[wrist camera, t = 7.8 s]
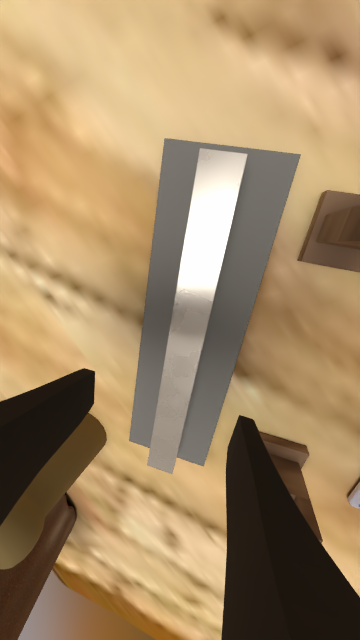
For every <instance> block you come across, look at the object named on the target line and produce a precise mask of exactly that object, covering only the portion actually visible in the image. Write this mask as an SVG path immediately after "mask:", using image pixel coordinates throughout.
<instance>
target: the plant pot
mask: <svg viewBox="0 0 360 640" xmlns="http://www.w3.org/2000/svg"><path fill="white" fill-rule="evenodd" d="M75 519H76V515H75V511H74V508H73V507H72V506H68V504H67V500H66V495H65V494H64V495H63V496H62V498H61V499H60V500H59V501H58V502H57V504H56V505H55V506H54V507H53V508H52V510H51V511H50V512H49V513H48V514H47V516H46V517H45V521H44V527H43V530H42V533H41V535H40V537H39V539H38V541H37V543H36V544H35V546H34V548H33V549H32V551H31V552H30V553H29V554H28V555H27V556H26V557H25V558H24V559H23V560H22V561H21V562H19V563H18V564H16V565H15V566H14V567H12V568H9V569H0V640H18V637H19V635H20V633H21V631H22V629H23V627H24V625H25V623H26V621H27V619H28V617H29V615H30V613H31V610H32V609H33V607H34V605H35V602H36V600H37V598H38V596H39V594H40V592H41V590H42V588H43V586H44V584H45V582H46V580H47V578H48V576H49V574H50V572H51V570H52V568H53V566H54V564H55V562H56V560H57V558H58V556H59V554H60V552H61V550H62V548H63V546H64V544H65V542H66V540H67V538H68V536H69V534H70V532H71V530H72V528H73V526H74V523H75Z"/></svg>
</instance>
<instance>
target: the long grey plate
mask: <svg viewBox="0 0 360 640" xmlns="http://www.w3.org/2000/svg"><path fill="white" fill-rule="evenodd" d="M200 148H202V149H211V150H219V151H227V152H236V153H244V154H247V159H246V165H245V170H244V175H243V179H242V183H241V187H240V192H239V196H238V200H237V204H236V209H235V213H234V217H233V221H232V225H231V230H230V234H229V238H228V242H227V247H226V251H225V255H224V259H223V264H222V268H221V272H220V276H219V281H218V285H217V289H216V293H215V298H214V302H213V306H212V310H211V314H210V319H209V323H208V327H207V331H206V336H205V340H204V344H203V348H202V353H201V357H200V361H199V365H198V370H197V374H196V378H195V382H194V386H193V391H192V395H191V399H190V403H189V408H188V412H187V416H186V420H185V425H184V429H183V433H182V437H181V442H180V446H179V450H178V454H177V457H178V458H181V459H183V460H186V461H189V462H192V463H195V464H198V465H201V466H204V464H205V460H206V457H207V454H208V451H209V448H210V444H211V441H212V438H213V435H214V432H215V428H216V425H217V422H218V419H219V415H220V412H221V409H222V406H223V403H224V399H225V396H226V393H227V390H228V387H229V383H230V380H231V377H232V374H233V370H234V367H235V364H236V361H237V358H238V354H239V351H240V348H241V345H242V342H243V338H244V335H245V332H246V329H247V326H248V322H249V319H250V316H251V313H252V309H253V306H254V303H255V300H256V297H257V293H258V290H259V287H260V284H261V281H262V277H263V274H264V271H265V268H266V264H267V261H268V258H269V255H270V252H271V248H272V245H273V242H274V239H275V236H276V232H277V229H278V226H279V223H280V219H281V216H282V213H283V210H284V207H285V203H286V200H287V197H288V194H289V191H290V187H291V184H292V181H293V178H294V175H295V171H296V168H297V165H298V162H299V158H300V155H301V154H293V153H284V152H276V151H267V150H259V149H251V148H242V147H234V146H225V145H217V144H208V143H200V142H191V141H183V140H175V139H166V138H165V139H164V148H163V156H162V165H161V173H160V182H159V190H158V199H157V207H156V216H155V224H154V233H153V242H152V250H151V259H150V267H149V276H148V284H147V293H146V301H145V310H144V318H143V327H142V336H141V344H140V353H139V361H138V370H137V378H136V387H135V395H134V404H133V412H132V421H131V429H130V438H129V441H131V442H134V443H137V444H140V445H143V446H145V447H148V448H150V445H151V439H152V433H153V427H154V421H155V415H156V409H157V403H158V397H159V391H160V385H161V379H162V373H163V367H164V361H165V355H166V349H167V343H168V337H169V331H170V325H171V319H172V313H173V307H174V301H175V295H176V289H177V283H178V277H179V271H180V265H181V259H182V253H183V247H184V241H185V235H186V229H187V223H188V217H189V211H190V205H191V199H192V193H193V187H194V181H195V175H196V169H197V163H198V157H199V151H200Z"/></svg>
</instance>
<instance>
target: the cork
mask: <svg viewBox="0 0 360 640" xmlns="http://www.w3.org/2000/svg"><path fill="white" fill-rule="evenodd" d="M105 443H106V433H105V430H104V428H103V426H102V425H101V424H100V422H99V421H98V420H97V419H96V418H94V417H93V416H92V415H90V414H88V413H87V415H86V416H85V418H84V419H83V421H82V422H81V423H80V424H79V426H78V427H77V428H76V429H75V430H74V432H73V433H72V434H71V435H70V436H69V437H68V439H67V440H66V441H65V442H64V443H63V444H62V446H61V447H60V448H59V449H58V450H57V451H56V453H55V454H54V455H53V456H52V457H51V458H50V460H49V461H48V462H47V463H46V464H45V465H44V467H43V468H42V469H41V470H40V472H39V473H38V474H37V475H36V477H35V478H34V479H33V481H32V482H31V484H30V485H29V486H28V488H27V489H26V490H25V492H24V493H23V494H22V496H21V497H20V499H19V500H18V501H17V503H16V504H15V506H14V507H13V509H12V510H11V511H10V513H9V514H8V516H7V517H6V519H5V520H4V521H3V523H2V524H1V526H0V569H9V568H12V567H14V566H15V565H16V564H18V563H19V562H21V561H22V560H23V559H24V558H25V557H26V556H27V555H28V554H29V553H30V552H31V551H32V549H33V548H34V546H35V544H36V543H37V541H38V539H39V537H40V535H41V533H42V530H43V527H44V521H45V517H46V516H47V514H48V513H49V512H50V511H51V510H52V508H53V507H54V506H55V505H56V504H57V502H58V501H59V500H60V499H61V498H62V496H63V495H64V494H65V493H66V491H67V490H68V489H69V488H70V487H71V485H72V484H73V483H74V482H75V481H76V479H77V478H78V477H79V476H80V474H81V473H82V472H83V471H84V470H85V468H86V467H87V466H88V465H89V464H90V462H91V461H92V460H93V459H94V457H95V456H96V455H97V454H98V453H99V451H100V450H101V449H102V448H103V447H104V445H105Z"/></svg>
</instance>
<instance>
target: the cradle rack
mask: <svg viewBox="0 0 360 640" xmlns="http://www.w3.org/2000/svg"><path fill="white" fill-rule="evenodd" d="M298 261H302V262H307V263H313V264H318V265H323V266H329V267H334V268H339V269H345V270H350V271H355V272H360V195H358V194H351V193H344V192H337V191H330V190H327V191H325V192H323V193H322V195H321V198H320V201H319V203H318V206H317V209H316V212H315V214H314V217H313V220H312V223H311V225H310V228H309V231H308V234H307V237H306V239H305V242H304V245H303V248H302V250H301V253H300V256H299V259H298ZM259 433H260V435H261V438H262V440H263V442H264V444H265V446H266V448H267V451H268V453H269V455H270V457H271V459H272V461H273V463H274V465H275V467H276V469H277V471H278V472H279V474H280V476H281V478H282V480H283V482H284V484H285V485H286V487H287V489H288V491H289V493H290V494H291V496H292V498H293V500H294V501H295V503H296V505H297V506H298V508H299V510H300V511H301V513H302V515H303V516H304V518H305V519H306V521H307V523H308V524H309V526H310V527H311V529H312V530H313V532H314V533H315V535H316V536H317V538H318V539H319V541H320V542H321V543H322V541H323V540H322V537H321V534H320V530H319V527H318V524H317V521H316V517H315V514H314V511H313V507H312V504H311V501H310V498H309V494H308V491H307V488H306V485H305V481H304V478H303V475H302V471H301V468H302V467H303V465H304V463H305V461H306V459H307V458H308V456H309V453H308V450H307V447H306V446H303V445H300V444H297V443H294V442H290V441H287V440H284V439H281V438H277V437H274V436H271V435H268V434H264V433H261V432H259Z"/></svg>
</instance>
